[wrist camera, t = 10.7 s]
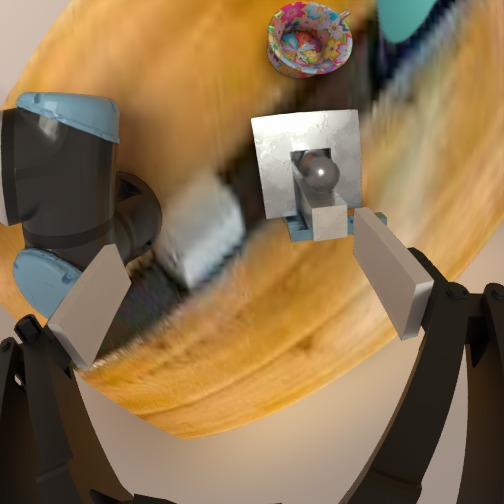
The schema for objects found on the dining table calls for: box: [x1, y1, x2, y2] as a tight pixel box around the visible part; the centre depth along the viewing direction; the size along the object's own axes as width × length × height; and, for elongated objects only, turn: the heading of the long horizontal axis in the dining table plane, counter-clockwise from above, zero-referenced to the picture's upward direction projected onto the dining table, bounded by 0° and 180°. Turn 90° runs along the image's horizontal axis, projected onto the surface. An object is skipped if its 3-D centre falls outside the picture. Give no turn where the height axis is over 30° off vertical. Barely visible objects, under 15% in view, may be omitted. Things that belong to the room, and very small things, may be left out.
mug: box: [267, 2, 352, 78], centre depth 27 cm, size 12×9×11 cm
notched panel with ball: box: [251, 110, 387, 242], centre depth 35 cm, size 16×16×11 cm
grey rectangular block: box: [295, 178, 347, 241], centre depth 35 cm, size 4×4×12 cm
